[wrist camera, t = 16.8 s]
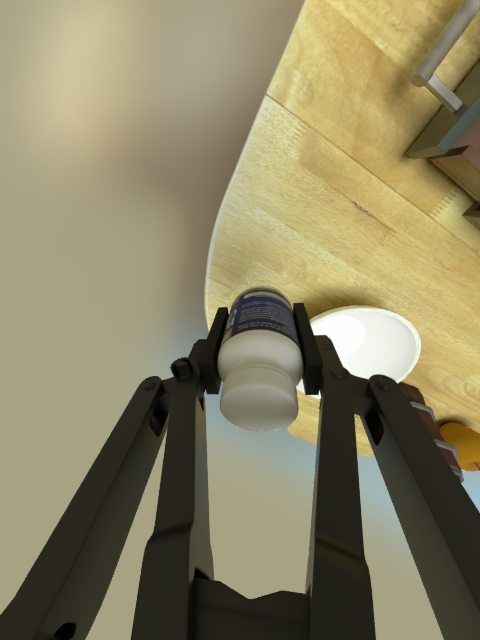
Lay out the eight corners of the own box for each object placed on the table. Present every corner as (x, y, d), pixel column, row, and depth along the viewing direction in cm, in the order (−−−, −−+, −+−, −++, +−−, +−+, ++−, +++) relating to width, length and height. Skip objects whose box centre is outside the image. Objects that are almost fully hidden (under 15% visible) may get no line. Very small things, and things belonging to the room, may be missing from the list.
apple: (421, 419, 48) (451, 462, 40) (469, 410, 44) (511, 455, 37) (427, 438, 51) (455, 481, 44) (472, 431, 48) (510, 476, 41)
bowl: (418, 292, 31) (453, 315, 26) (367, 377, 42) (384, 407, 37) (291, 280, 32) (297, 300, 27) (273, 367, 43) (275, 394, 38)
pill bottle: (228, 284, 17) (196, 372, 9) (293, 282, 17) (322, 375, 8) (233, 335, 20) (213, 436, 12) (289, 335, 19) (308, 442, 11)
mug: (359, 386, 44) (397, 465, 31) (424, 379, 41) (495, 464, 28) (358, 426, 52) (388, 503, 39) (413, 423, 49) (464, 504, 36)
